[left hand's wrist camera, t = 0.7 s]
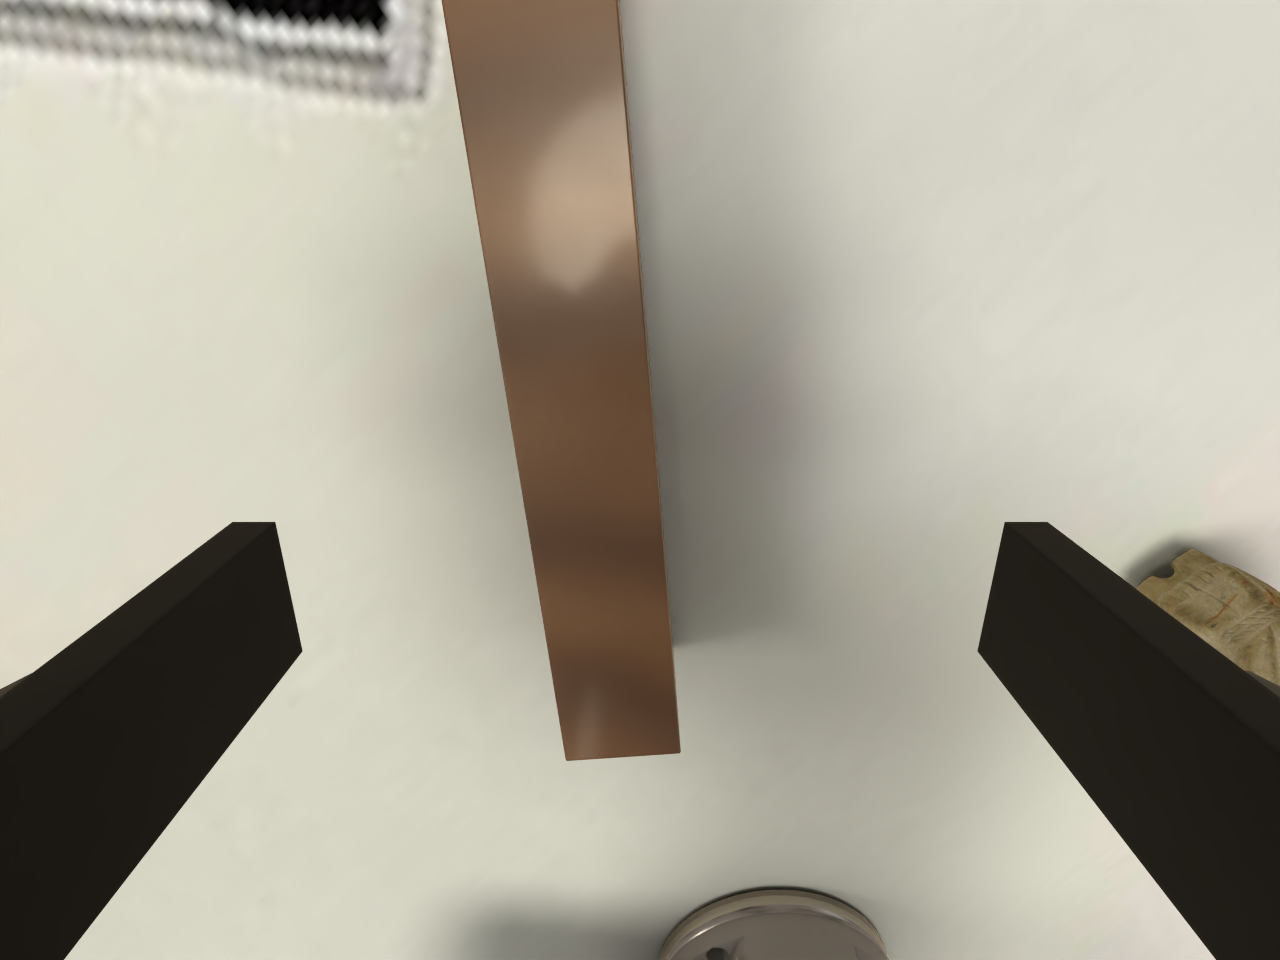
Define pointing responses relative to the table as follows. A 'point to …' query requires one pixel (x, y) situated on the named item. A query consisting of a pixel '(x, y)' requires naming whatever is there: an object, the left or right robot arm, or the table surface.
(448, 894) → the table surface
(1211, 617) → the sculpture
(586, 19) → the bar
